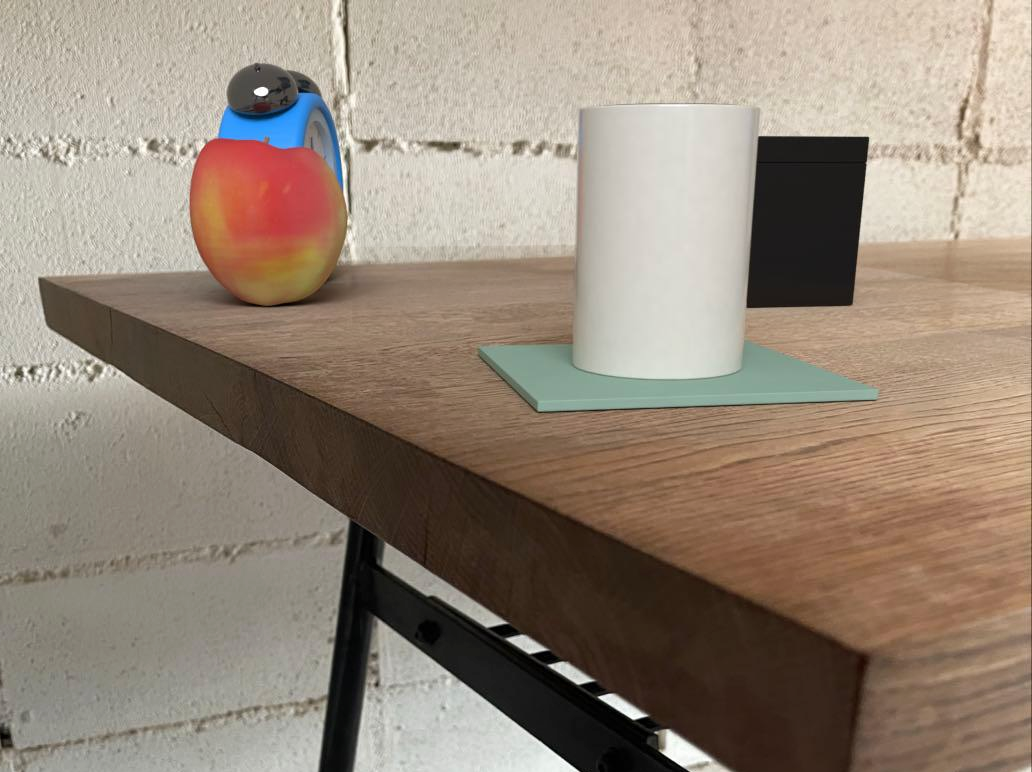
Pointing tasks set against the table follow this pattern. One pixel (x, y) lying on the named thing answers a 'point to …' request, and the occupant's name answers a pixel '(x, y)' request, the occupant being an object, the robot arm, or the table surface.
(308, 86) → the alarm clock
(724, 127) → the cup
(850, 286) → the shelf
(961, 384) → the table surface
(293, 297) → the apple
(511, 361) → the mat
